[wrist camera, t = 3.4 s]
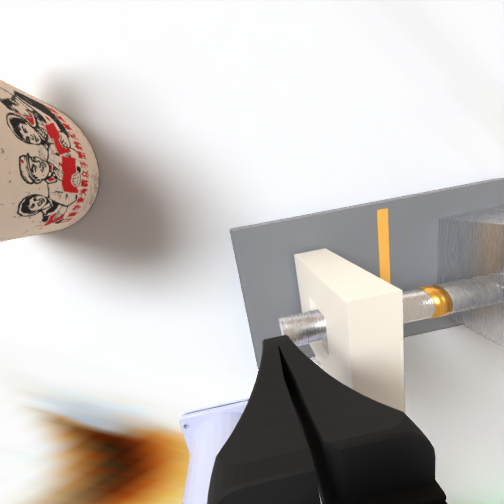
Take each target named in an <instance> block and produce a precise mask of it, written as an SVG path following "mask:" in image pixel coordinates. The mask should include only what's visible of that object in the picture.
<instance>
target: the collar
mask: <svg viewBox="0 0 504 504" xmlns="http://www.w3.org/2000/svg"><path fill="white" fill-rule="evenodd" d="M294 258H295V266H296V273H297V280H298V287H299V294H300V302H301V309H302V313H303V312H308V311H313V310H318V309H319V310H320V311H321V312H322V314H323V315H324V316H325V322H326V331H327V340H324V341H319V342H315V343H310V346H311V348H312V350H313V352H314V354H315V356H316V358H317V360H318V361H319V363H320V365H321V367H322V369H323V370H324V371H325V372H326V373H328V374H329V375H331V376H332V377H334V378H335V379H336V380H338V381H340V382H341V383H343V384H344V385H346V386H348V387H350V388H351V389H353V390H355V391H357V392H359V393H360V394H362V395H364V396H367V397H369V398H371V399H373V400H375V401H377V402H380V403H382V404H385V405H387V406H390V407H392V408H395V409H397V410H400V411H403V412H404V413H405V395H404V344H403V293H402V290H401V289H399V288H397V287H395V286H393V285H391V284H390V283H388V282H386V281H384V280H382V279H381V278H379V277H377V276H375V275H373V274H371V273H370V272H368V271H366V270H364V269H362V268H360V267H359V266H357V265H355V264H353V263H351V262H350V261H348V260H346V259H344V258H342V257H340V256H339V255H337V254H335V253H333V252H331V251H329V250H328V249H326V248H324V249H319V250H314V251H309V252H304V253H299V254H294Z"/></svg>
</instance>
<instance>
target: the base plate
mask: <svg viewBox="0 0 504 504" xmlns="http://www.w3.org/2000/svg"><path fill="white" fill-rule="evenodd" d="M497 206H504V178H499V179H492V180H486V181H481V182H476V183H471V184H465V185H460V186H455V187H449V188H444V189H439V190H434V191H428V192H423V193H418V194H413V195H407V196H402V197H397V198H392V199H386V200H381V201H376V202H371V203H365V204H360V205H355V206H349V207H344V208H339V209H334V210H328V211H323V212H318V213H313V214H307V215H302V216H297V217H292V218H286V219H281V220H276V221H270V222H265V223H260V224H255V225H249V226H244V227H239V228H234V229H230V234H231V239H232V244H233V249H234V253H235V258H236V263H237V268H238V273H239V278H240V283H241V288H242V293H243V298H244V302H245V307H246V312H247V317H248V322H249V327H250V332H251V337H252V342H253V347H254V352H255V356H256V361H257V366H258V369H259V367H260V362H261V357H262V348H263V344H262V341H263V340H264V339H268V338H273V337H278V336H281V333H280V328H279V322H278V318H279V317H284V316H289V315H294V314H298V313H302V309H301V302H300V294H299V287H298V280H297V273H296V266H295V258H294V254H299V253H304V252H309V251H314V250H319V249H324V248H326V249H328V250H329V251H331V252H333V253H335V254H337V255H339V256H340V257H342V258H344V259H346V260H348V261H350V262H351V263H353V264H355V265H357V266H359V267H360V268H362V269H364V270H366V271H368V272H370V273H371V274H373V275H375V276H377V277H379V278H381V279H382V280H384V281H386V282H388V283H390V284H391V285H393V286H395V287H397V288H399V289H401V290H402V292H405V291H409V290H414V289H416V288H420V287H425V286H429V285H437V259H438V218H440V217H445V216H451V215H456V214H461V213H466V212H471V211H476V210H481V209H486V208H492V207H497ZM459 325H463V324H461V323H459V322H457V321H455V320H454V319H452V318H450V317H448V316H441V317H436V318H431V319H428V318H427V319H422V320H418V321H413V322H408V323H404V324H403V337H408V336H412V335H417V334H421V333H426V332H431V331H435V330H440V329H445V328H449V327H454V326H459ZM297 347H298V348H299V349H300V350H301V351H302V352H303V353H304V354H305V355H306V356H307V357H308V358H310V357H315V354H314V352H313V350H312V348H311V346H310V344H305V345H301V346H297Z"/></svg>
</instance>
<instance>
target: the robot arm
mask: <svg viewBox="0 0 504 504" xmlns="http://www.w3.org/2000/svg"><path fill="white" fill-rule="evenodd" d="M262 344H263V348H262V357H261V362H260V367H259V371H258V375H257V378H256V382H255V385H254V388H253V391H252V393H251V396H250V398H249V400H248V401H244V402H239V403H235V404H230V405H226V406H221V407H217V408H212V409H208V410H203V411H199V412H194V413H190V414H185V415H182V416H181V418H180V425H181V429H182V432H183V435H184V438H185V441H186V444H187V447H188V450H189V453H190V458H189V465H188V471H187V477H186V483H185V489H184V495H183V502H182V504H320V497H321V501H322V504H447V503H446V501H445V500H446V495H445V493H444V491H443V490H442V489H441V487H440V486H439V484H438V483H437V482H436V480H435V452H434V448H433V446H432V444H431V443H430V441H429V440H428V439H427V437H426V436H425V435H424V434H423V432H422V431H421V430H420V429H419V428H418V427H417V426H416V425H415V424H414V422H413V421H412V420H411V419H410V418H409V417H408V416H407V415H406V414H405V413H404V412H403V411H400V410H397V409H395V408H392V407H390V406H387V405H385V404H382V403H380V402H377V401H375V400H373V399H371V398H369V397H367V396H364V395H362V394H360V393H359V392H357V391H355V390H353V389H351V388H350V387H348V386H346V385H344V384H343V383H341V382H340V381H338V380H336V379H335V378H334V377H332V376H331V375H329V374H328V373H326V372H325V371H324V370H323V369H321V368H320V367H319V366H318V365H316V364H315V363H314V362H313V361H312V360H311V359H309V358H308V357H307V356H306V355H305V354H304V353H303V352H302V351H301V350H300V349H299V348H298V347H297V346H296V345H295V344H294V342H293V341H292V340H291V339H290V338H289V336H287V335H282V336H278V337H273V338H268V339H264V340H263V341H262ZM186 424H188V425H186ZM318 490H319V491H318ZM319 493H320V497H319Z"/></svg>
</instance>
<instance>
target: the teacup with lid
mask: <svg viewBox="0 0 504 504" xmlns="http://www.w3.org/2000/svg"><path fill="white" fill-rule="evenodd" d="M98 187H99V170H98V164H97V160H96V157H95V154H94V152H93V149H92V147H91V145H90V143H89V142H88V140H87V138H86V137H85V135H84V134H83V133H82V131H81V130H80V129H79V128H78V127H77V125H76V124H75V123H74V122H73V121H72V120H71V119H69V118H68V117H67V116H66V115H65V114H63V113H62V112H60V111H59V110H58V109H56V108H54V107H53V106H51V105H49V104H47V103H45V102H43V101H41V100H39V99H37V98H35V97H33V96H31V95H29V94H27V93H25V92H23V91H21V90H19V89H17V88H15V87H13V86H11V85H9V84H7V83H5V82H3V81H1V80H0V241H6V240H11V239H16V238H21V237H26V236H32V235H37V234H42V233H47V232H52V231H57V230H61V229H64V228H66V227H69V226H71V225H73V224H74V223H76V222H78V221H79V220H80V219H81V218H83V216H84V215H85V214H86V213H87V212H88V211H89V210H90V208H91V206H92V205H93V203H94V201H95V198H96V195H97V192H98Z"/></svg>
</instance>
